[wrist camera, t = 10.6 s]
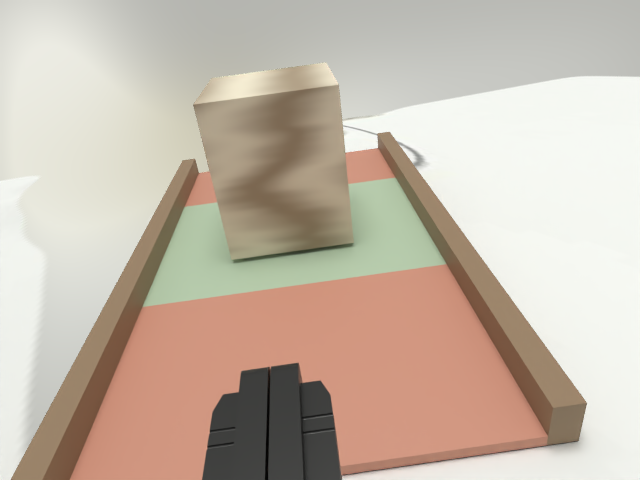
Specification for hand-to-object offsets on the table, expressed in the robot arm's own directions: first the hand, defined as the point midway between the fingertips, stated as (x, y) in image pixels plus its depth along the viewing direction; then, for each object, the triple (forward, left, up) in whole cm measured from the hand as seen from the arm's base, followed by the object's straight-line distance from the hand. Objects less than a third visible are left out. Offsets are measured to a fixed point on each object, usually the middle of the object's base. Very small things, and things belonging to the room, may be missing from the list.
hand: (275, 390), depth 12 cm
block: (0, +21, -7) cm, 22 cm away
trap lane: (0, +19, -7) cm, 20 cm away
